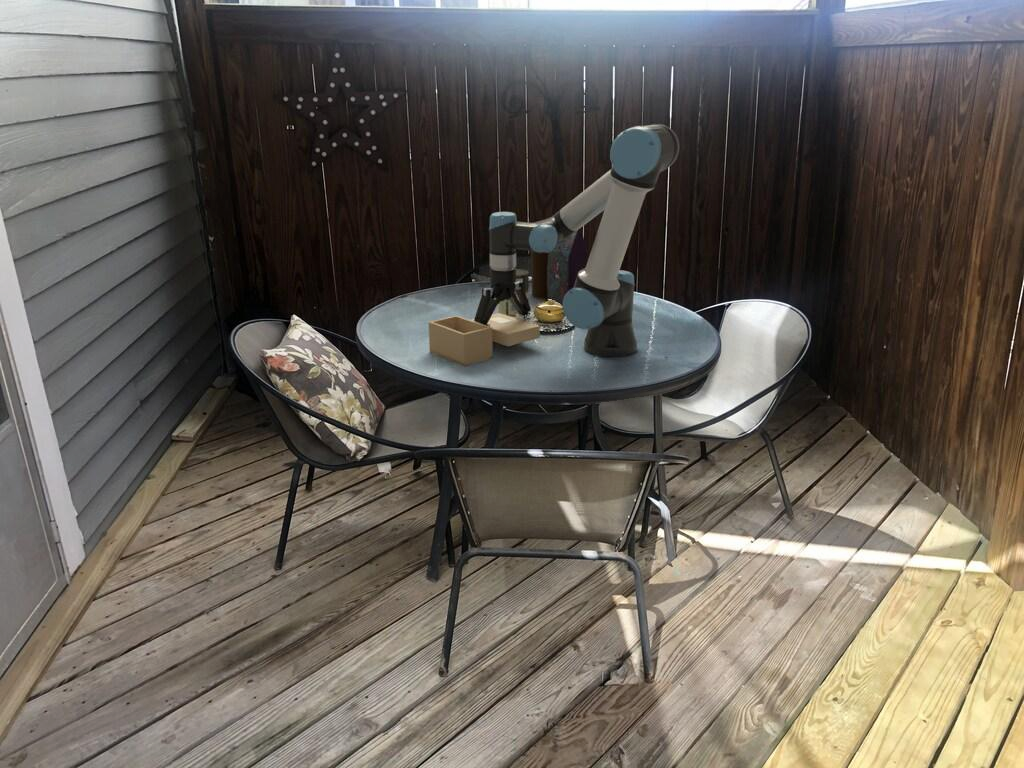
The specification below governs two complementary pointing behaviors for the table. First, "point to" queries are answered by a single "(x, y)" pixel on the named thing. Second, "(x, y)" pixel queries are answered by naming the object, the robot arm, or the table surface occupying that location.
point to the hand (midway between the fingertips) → (503, 340)
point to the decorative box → (565, 266)
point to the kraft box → (460, 340)
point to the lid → (512, 330)
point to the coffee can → (506, 305)
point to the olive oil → (539, 274)
